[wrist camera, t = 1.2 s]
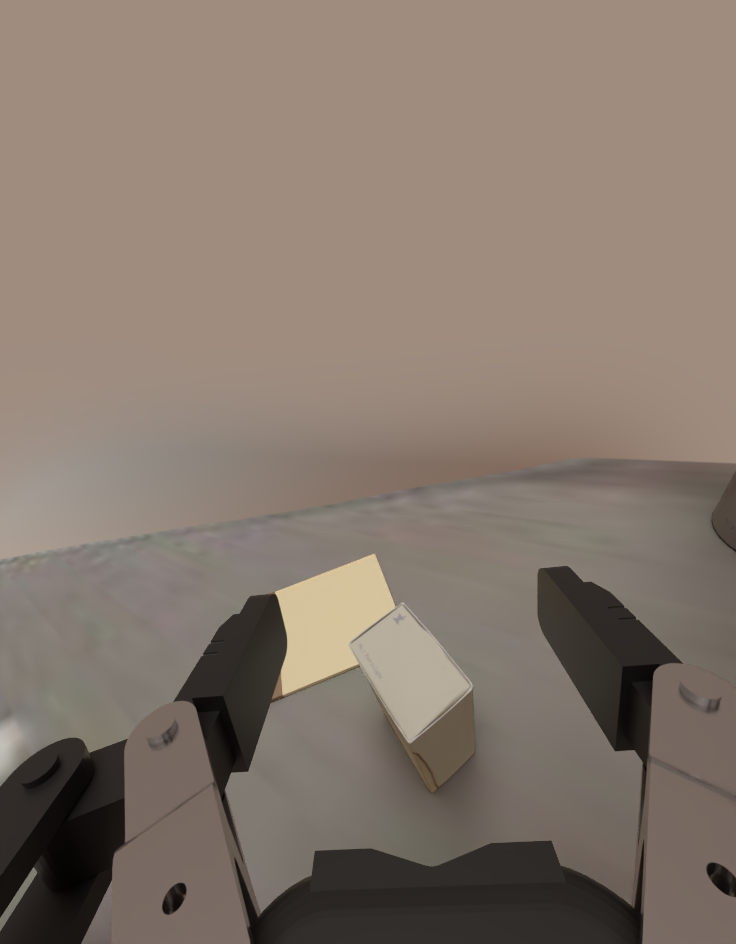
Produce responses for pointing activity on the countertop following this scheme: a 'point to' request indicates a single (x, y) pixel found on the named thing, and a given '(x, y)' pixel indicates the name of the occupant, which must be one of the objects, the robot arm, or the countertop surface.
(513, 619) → the countertop surface
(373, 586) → the notepad
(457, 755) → the skincare box
